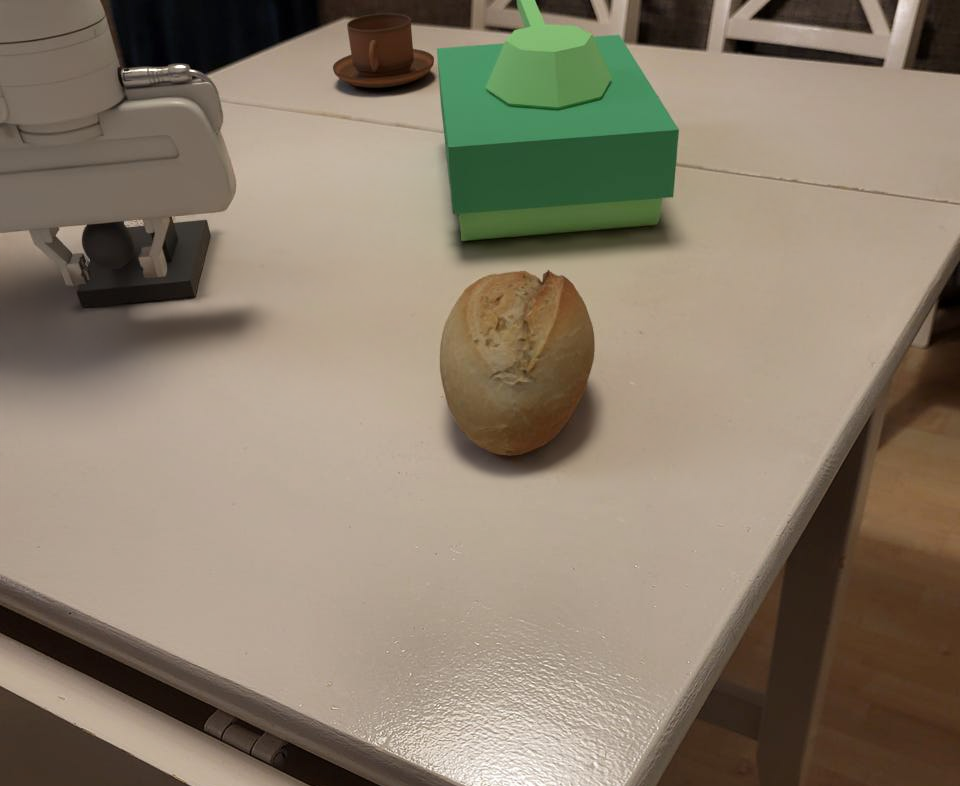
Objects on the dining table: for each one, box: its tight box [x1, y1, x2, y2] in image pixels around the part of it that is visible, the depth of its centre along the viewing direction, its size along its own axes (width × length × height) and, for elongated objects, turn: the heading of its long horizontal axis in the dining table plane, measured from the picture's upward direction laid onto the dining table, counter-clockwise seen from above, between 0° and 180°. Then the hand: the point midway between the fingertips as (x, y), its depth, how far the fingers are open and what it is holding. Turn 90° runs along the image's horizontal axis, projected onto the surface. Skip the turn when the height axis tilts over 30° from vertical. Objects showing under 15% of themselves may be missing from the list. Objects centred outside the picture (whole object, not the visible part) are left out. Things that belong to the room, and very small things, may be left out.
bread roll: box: [439, 269, 596, 457], centre depth 61 cm, size 10×15×8 cm, turn 178°
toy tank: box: [436, 0, 680, 242], centre depth 88 cm, size 18×12×35 cm
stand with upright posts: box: [75, 217, 211, 308], centre depth 77 cm, size 12×9×13 cm
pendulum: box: [81, 222, 134, 269], centre depth 72 cm, size 13×4×4 cm
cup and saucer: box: [332, 12, 435, 89], centre depth 114 cm, size 12×12×6 cm
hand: (118, 278), depth 73 cm, fingers open, 4 cm apart
